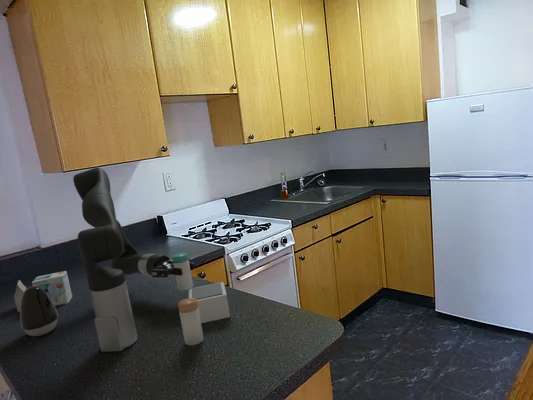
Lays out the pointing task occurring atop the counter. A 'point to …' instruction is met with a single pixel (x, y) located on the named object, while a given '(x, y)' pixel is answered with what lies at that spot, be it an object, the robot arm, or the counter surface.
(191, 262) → the robot arm
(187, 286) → the teal capped canister
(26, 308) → the dark grey rounded pod
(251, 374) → the counter surface
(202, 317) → the grey unit
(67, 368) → the counter surface
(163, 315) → the counter surface
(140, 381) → the counter surface
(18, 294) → the sunburst logo carton
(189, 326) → the white spice bottle
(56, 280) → the light bulb box
